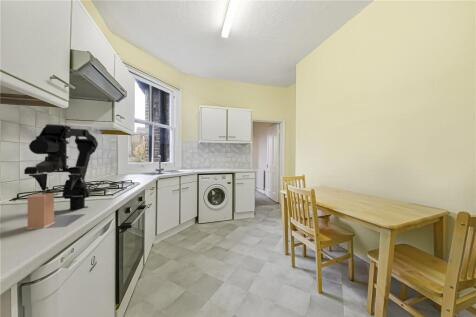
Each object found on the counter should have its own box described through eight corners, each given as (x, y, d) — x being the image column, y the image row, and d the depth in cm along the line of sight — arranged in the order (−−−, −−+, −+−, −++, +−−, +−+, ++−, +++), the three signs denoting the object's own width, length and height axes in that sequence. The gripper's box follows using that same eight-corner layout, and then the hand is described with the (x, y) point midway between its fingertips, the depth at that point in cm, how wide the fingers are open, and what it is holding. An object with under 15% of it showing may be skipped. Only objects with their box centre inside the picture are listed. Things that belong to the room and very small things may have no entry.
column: (38, 223, 72) (38, 193, 72) (53, 222, 73) (53, 193, 73) (27, 228, 67) (27, 196, 67) (44, 227, 68) (43, 196, 68)
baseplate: (52, 217, 80) (52, 215, 80) (85, 215, 84) (85, 213, 84) (24, 231, 66) (24, 229, 66) (66, 228, 70) (66, 226, 70)
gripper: (11, 153, 67) (11, 195, 67) (72, 154, 72) (72, 193, 72) (35, 153, 77) (35, 189, 78) (87, 154, 83) (87, 188, 83)
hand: (57, 190), depth 77 cm, fingers open, 9 cm apart
